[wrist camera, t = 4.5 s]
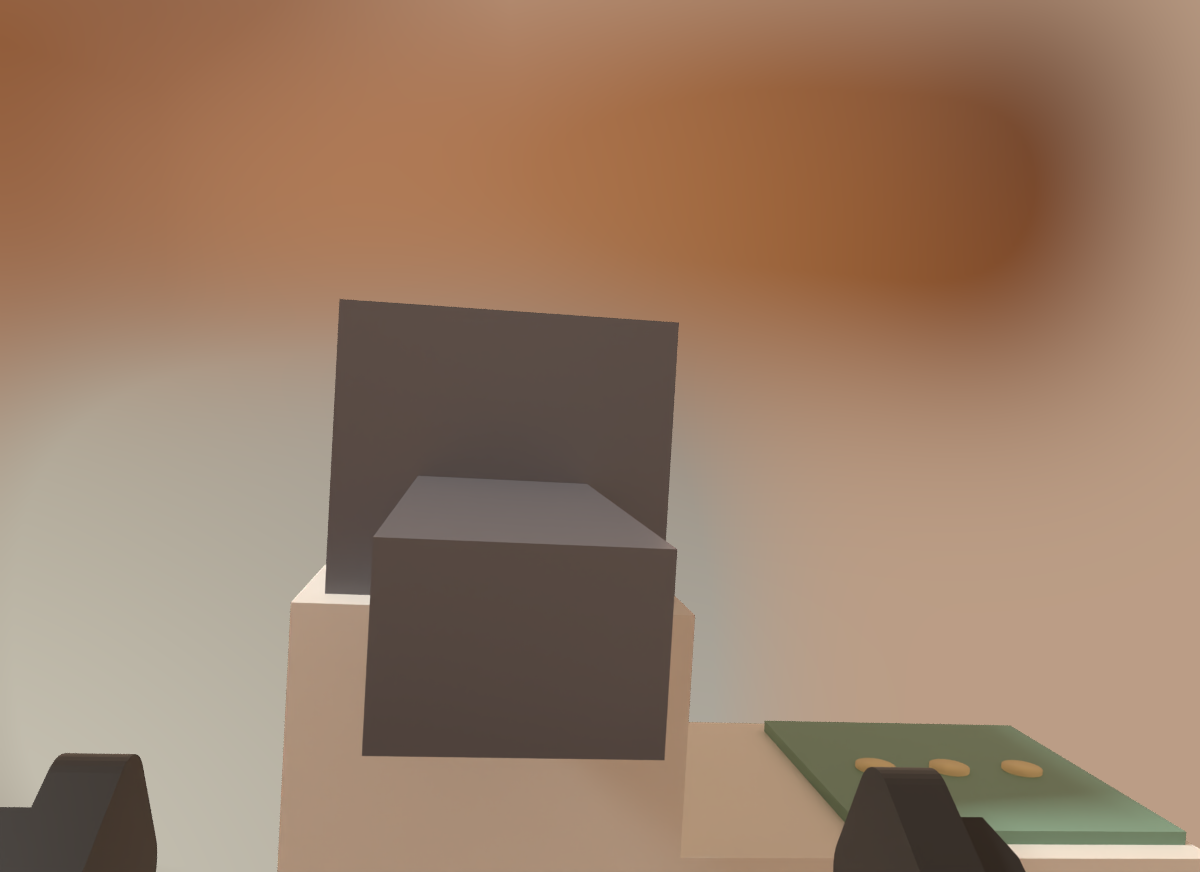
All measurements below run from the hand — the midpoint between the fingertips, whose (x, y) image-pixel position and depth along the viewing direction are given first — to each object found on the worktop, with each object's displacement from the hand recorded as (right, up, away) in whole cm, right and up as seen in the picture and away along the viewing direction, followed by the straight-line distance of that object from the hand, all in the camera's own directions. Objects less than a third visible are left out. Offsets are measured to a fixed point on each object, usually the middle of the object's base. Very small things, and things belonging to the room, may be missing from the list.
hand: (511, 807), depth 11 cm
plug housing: (-1, +1, +8) cm, 9 cm away
